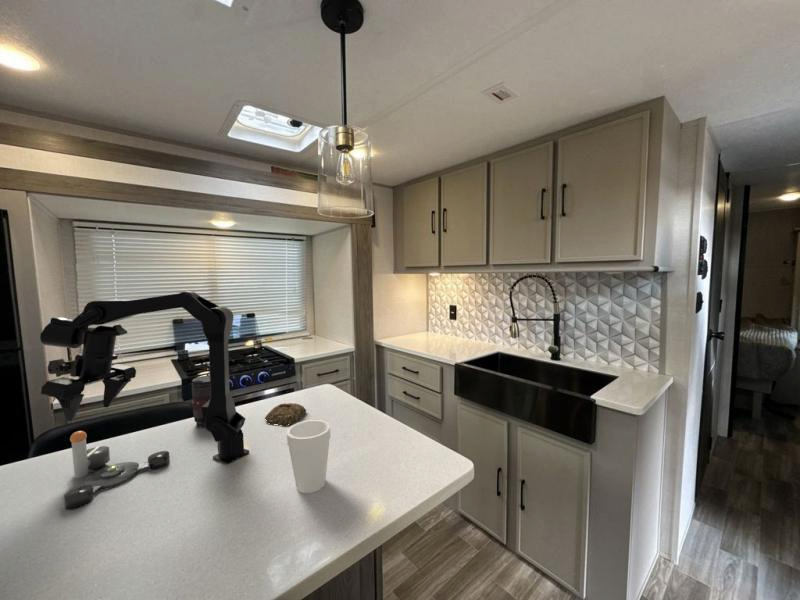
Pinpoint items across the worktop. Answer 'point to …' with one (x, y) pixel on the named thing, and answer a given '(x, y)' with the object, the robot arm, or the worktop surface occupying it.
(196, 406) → the camera lens
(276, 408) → the brown rock
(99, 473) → the tribrach
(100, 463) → the footscrew lever
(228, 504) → the worktop surface
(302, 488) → the foam cup
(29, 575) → the worktop surface
